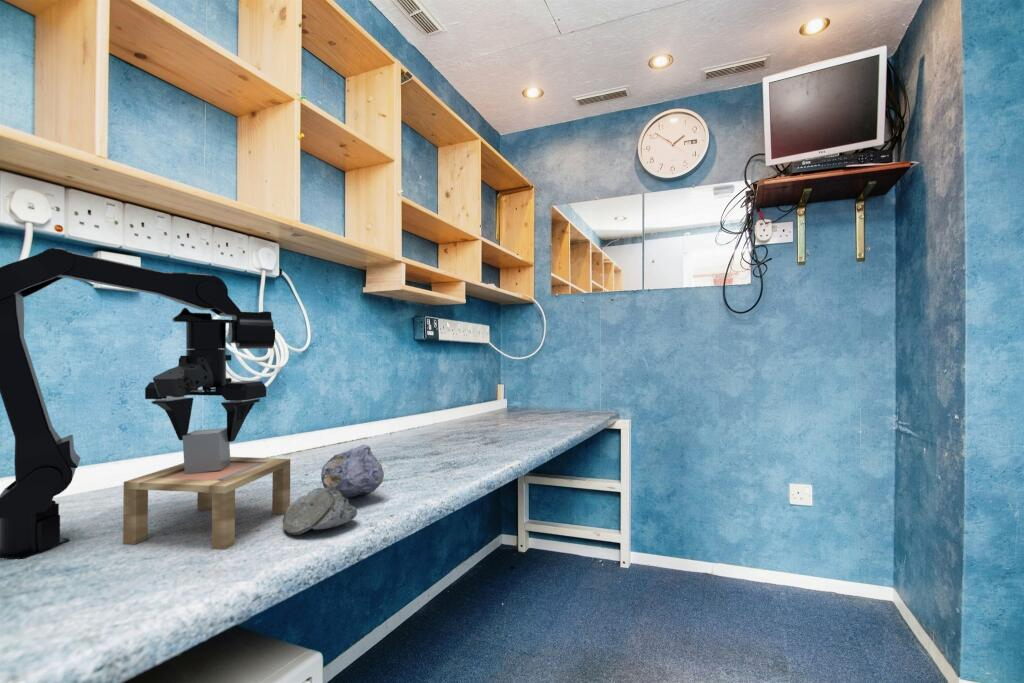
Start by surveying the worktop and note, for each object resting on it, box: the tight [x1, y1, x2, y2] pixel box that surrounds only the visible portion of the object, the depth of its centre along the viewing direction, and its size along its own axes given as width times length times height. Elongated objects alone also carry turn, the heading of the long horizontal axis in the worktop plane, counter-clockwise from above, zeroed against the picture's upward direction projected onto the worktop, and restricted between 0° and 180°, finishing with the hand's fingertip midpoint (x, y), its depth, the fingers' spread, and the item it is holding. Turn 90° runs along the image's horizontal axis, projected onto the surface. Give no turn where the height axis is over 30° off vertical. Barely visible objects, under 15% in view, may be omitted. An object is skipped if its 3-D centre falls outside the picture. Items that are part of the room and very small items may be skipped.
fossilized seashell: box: [282, 486, 358, 536], centre depth 77 cm, size 10×9×10 cm
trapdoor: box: [165, 463, 264, 481], centre depth 76 cm, size 10×10×1 cm
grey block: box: [182, 427, 231, 474], centre depth 77 cm, size 5×5×6 cm
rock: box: [320, 444, 385, 498], centre depth 88 cm, size 11×10×10 cm
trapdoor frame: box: [122, 456, 291, 551], centre depth 76 cm, size 16×16×9 cm
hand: (206, 440), depth 81 cm, fingers open, 9 cm apart
